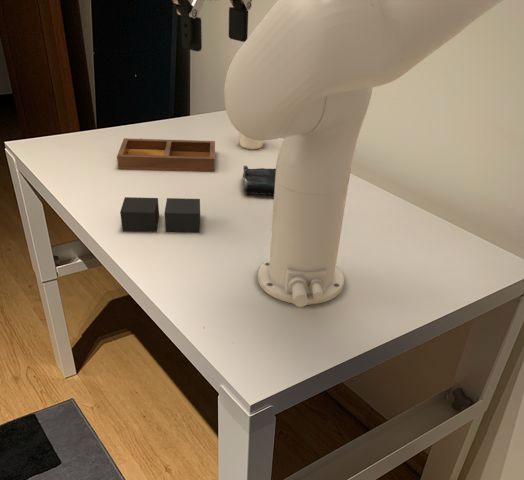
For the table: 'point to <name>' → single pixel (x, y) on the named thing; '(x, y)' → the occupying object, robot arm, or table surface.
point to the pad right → (182, 215)
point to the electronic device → (259, 180)
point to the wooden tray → (166, 155)
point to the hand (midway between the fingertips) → (215, 44)
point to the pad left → (139, 214)
